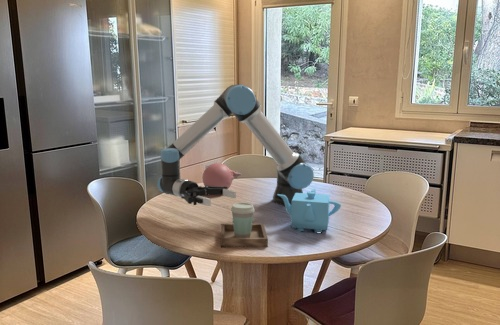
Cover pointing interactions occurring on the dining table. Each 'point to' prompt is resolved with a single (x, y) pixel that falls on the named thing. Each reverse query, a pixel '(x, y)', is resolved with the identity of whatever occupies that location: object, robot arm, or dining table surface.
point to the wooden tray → (255, 240)
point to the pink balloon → (219, 175)
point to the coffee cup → (242, 219)
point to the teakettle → (310, 210)
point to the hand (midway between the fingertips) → (223, 198)
